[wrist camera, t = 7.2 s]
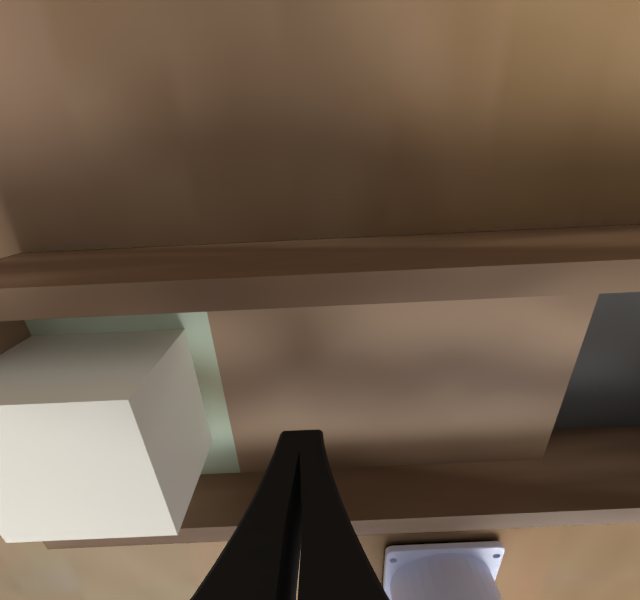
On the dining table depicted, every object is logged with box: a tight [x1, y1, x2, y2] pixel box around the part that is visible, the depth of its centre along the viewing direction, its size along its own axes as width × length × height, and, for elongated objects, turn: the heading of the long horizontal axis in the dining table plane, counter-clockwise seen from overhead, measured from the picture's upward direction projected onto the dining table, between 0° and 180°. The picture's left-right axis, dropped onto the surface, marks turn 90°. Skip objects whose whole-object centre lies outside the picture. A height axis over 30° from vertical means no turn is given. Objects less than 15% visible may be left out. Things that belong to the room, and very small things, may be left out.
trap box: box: [0, 224, 640, 549], centre depth 13 cm, size 12×32×4 cm, turn 92°
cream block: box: [0, 329, 212, 543], centre depth 11 cm, size 6×6×4 cm
